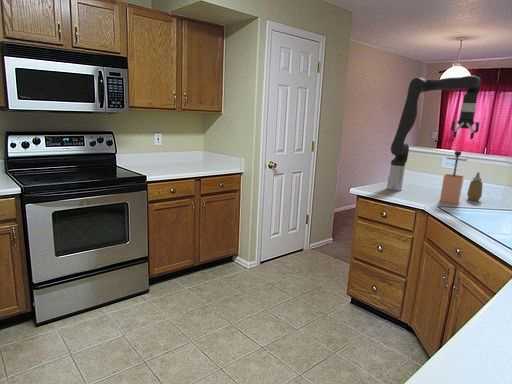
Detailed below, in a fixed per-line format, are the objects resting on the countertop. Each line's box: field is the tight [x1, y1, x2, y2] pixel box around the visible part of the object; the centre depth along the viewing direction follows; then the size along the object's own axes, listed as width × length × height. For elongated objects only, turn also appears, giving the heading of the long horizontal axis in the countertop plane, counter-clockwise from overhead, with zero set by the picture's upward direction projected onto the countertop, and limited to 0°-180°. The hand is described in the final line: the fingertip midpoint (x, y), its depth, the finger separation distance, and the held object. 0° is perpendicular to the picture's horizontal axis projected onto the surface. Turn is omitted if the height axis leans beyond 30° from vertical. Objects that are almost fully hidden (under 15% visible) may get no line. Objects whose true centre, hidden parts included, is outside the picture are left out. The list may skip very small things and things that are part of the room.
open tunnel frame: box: [439, 173, 465, 205], centre depth 228 cm, size 10×10×16 cm
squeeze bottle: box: [466, 172, 483, 202], centre depth 234 cm, size 8×8×18 cm
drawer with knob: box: [446, 150, 468, 177], centre depth 225 cm, size 10×10×20 cm
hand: (462, 138), depth 222 cm, fingers open, 8 cm apart
